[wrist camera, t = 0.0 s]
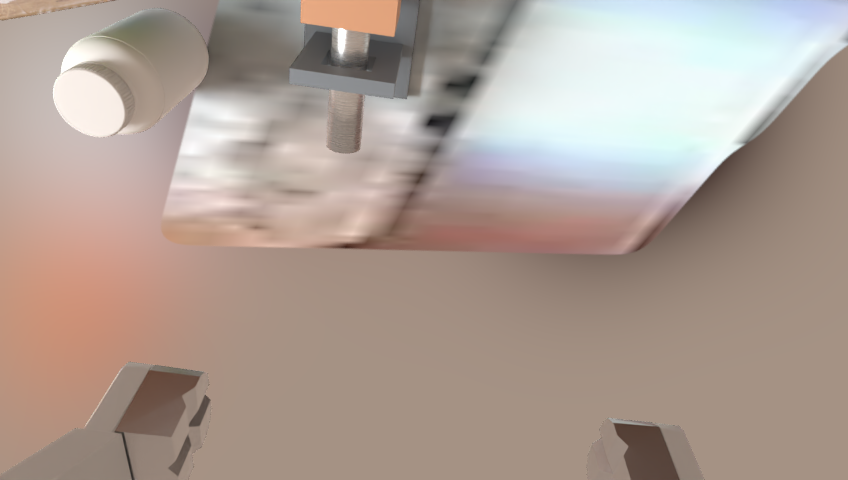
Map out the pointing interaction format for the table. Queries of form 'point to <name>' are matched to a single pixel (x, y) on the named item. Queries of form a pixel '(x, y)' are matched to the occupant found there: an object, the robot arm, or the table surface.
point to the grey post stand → (384, 60)
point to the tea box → (39, 6)
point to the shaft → (346, 106)
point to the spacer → (353, 15)
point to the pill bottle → (130, 73)
